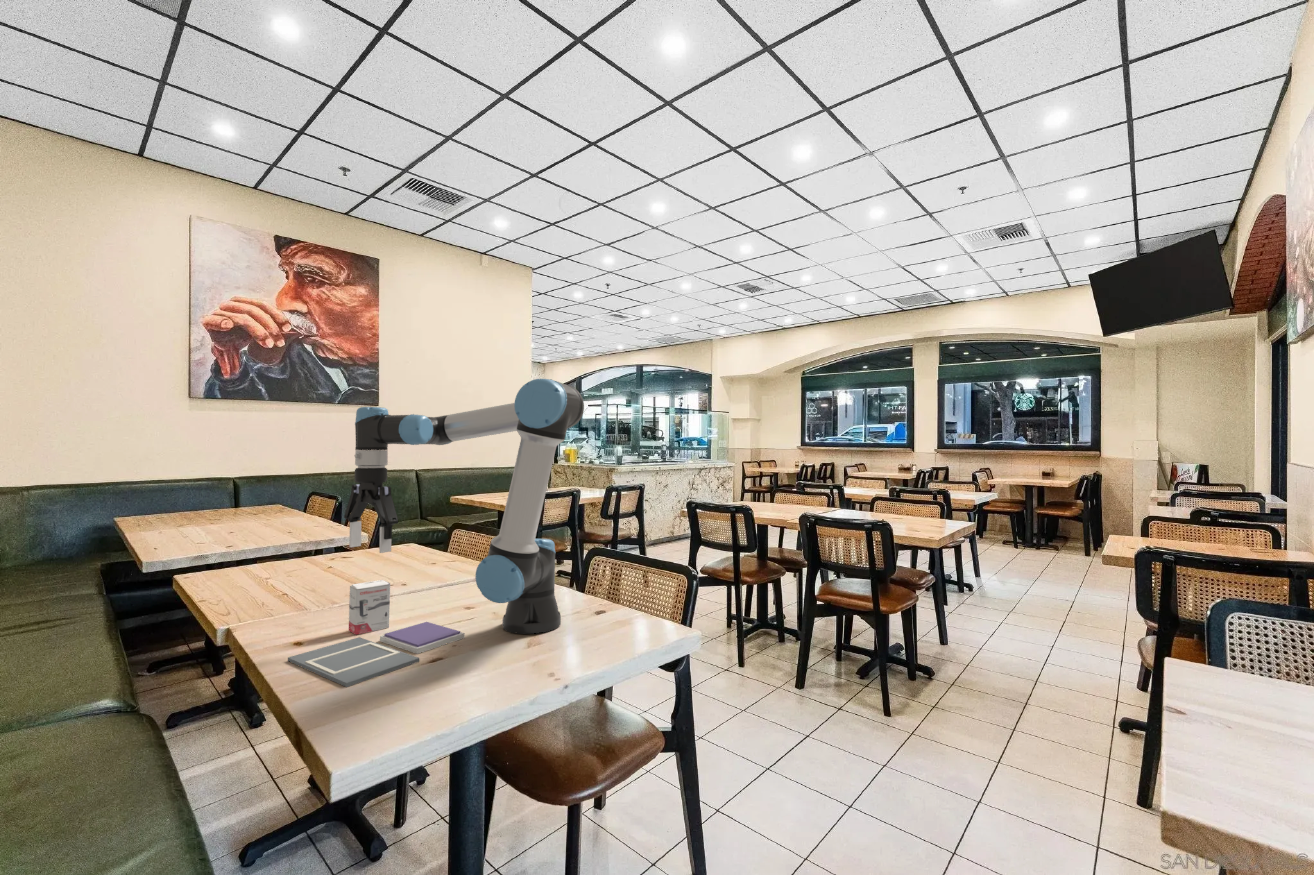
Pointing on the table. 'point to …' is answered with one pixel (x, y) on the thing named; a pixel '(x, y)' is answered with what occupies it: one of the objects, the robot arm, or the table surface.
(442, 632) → the ink pad
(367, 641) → the slate board
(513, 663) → the table surface
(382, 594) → the ink box
